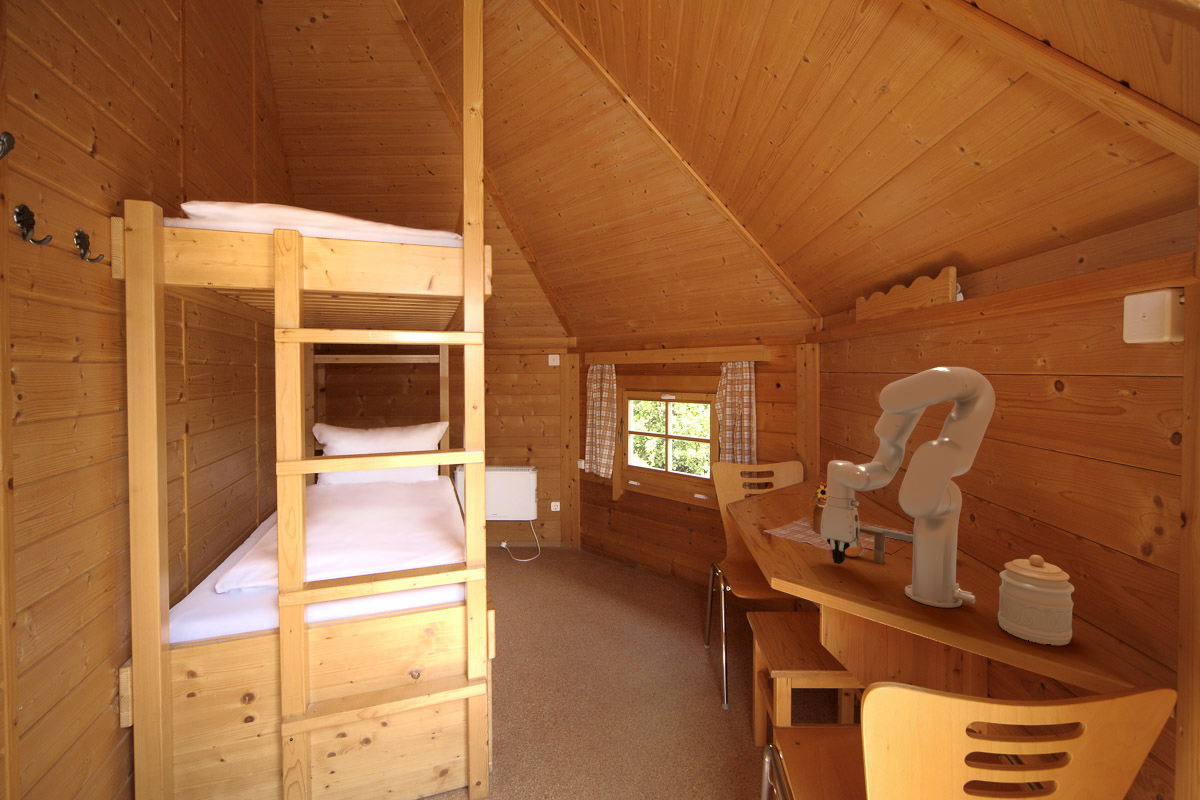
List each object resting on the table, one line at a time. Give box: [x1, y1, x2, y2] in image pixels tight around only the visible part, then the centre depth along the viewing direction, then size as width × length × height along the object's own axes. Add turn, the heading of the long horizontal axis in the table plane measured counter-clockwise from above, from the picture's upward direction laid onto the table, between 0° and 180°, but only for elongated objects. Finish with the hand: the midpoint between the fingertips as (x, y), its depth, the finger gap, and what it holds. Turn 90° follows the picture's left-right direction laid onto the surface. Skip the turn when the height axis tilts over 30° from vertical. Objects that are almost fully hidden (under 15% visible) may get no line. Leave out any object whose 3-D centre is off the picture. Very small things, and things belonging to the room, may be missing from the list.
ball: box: [845, 539, 863, 558], centre depth 169 cm, size 6×6×6 cm
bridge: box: [831, 525, 886, 565], centre depth 168 cm, size 3×15×10 cm, turn 43°
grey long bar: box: [866, 525, 914, 542], centre depth 189 cm, size 16×2×2 cm, turn 43°
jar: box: [997, 554, 1075, 646], centre depth 119 cm, size 13×13×18 cm
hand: (838, 562), depth 159 cm, fingers closed
